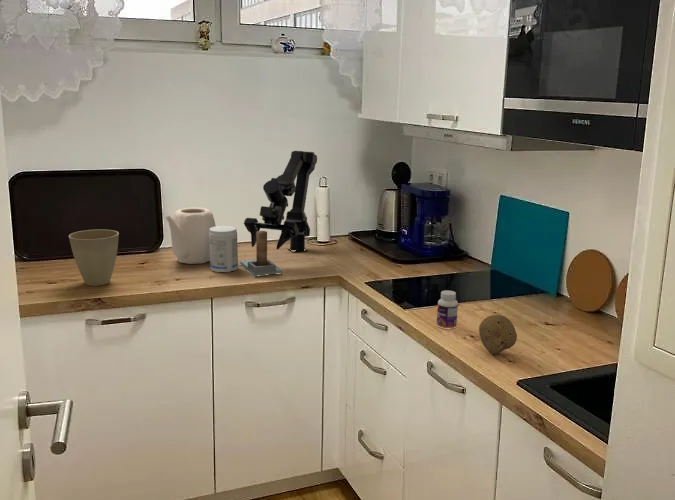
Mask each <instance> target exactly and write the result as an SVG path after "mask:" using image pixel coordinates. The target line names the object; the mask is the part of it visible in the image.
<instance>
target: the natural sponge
mask: <svg viewBox="0 0 675 500" xmlns="http://www.w3.org/2000/svg"><path fill="white" fill-rule="evenodd" d="M478 331H479V332H478V333H479V338H480V340H481V342H482V346H483V347H484V349H486V351H488V353H490V354H491V355H493V354H495V355H498V354H500V353H502V352H503V351H505V350H508V349H510V348H512V347H513V346H514V345H516V342H517V340H518V339H517V338H518V335H517V332H516V329H515V325H514V323H513V322H512V321H511V320H510V319H508V317H506V316H505V315H502V314H493V315H492V314H491V315H489V316H488V315H487V317H485V318H484V319H483V320H482V321H481V322H480V324H479V326H478Z"/></svg>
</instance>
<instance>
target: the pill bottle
mask: <svg viewBox="0 0 675 500" xmlns="http://www.w3.org/2000/svg"><path fill="white" fill-rule="evenodd" d="M458 310H459V302H458V300H457V293H456V291H453V290H442V291H441V292H440V299H439V300H438V301H437V314H436V326H437V325H438V326H440V327H443V328H454V327H456V328H457V325H458V323H457V322H458V312H459V311H458ZM438 326H437V327H438ZM454 329H455V328H454Z"/></svg>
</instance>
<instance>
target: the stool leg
mask: <svg viewBox="0 0 675 500" xmlns="http://www.w3.org/2000/svg"><path fill="white" fill-rule="evenodd" d="M255 245H256V248H255V250H256V253H255V254H256V256H255V257H256V259H255V260H257V266H266V265H267V259H268V231H266V230H259V231H257V232H256V243H255Z"/></svg>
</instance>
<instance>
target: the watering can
mask: <svg viewBox="0 0 675 500" xmlns="http://www.w3.org/2000/svg"><path fill="white" fill-rule="evenodd" d="M165 219H166V221H167V222H168V225H169V229H170V230H169V231H170V237H171V239H170V240H171V247H172V253H173V255H174V256H175V257H176V258H177V260H178V262H179V263H181V264H188V265H196V264H205V263H207V262H210V245H209V229H210V228H212V227H215V226H217V225H216V222H215V217H214V215H213V212H212V210H210V209H208V208H205V207H184V208H179V209H177V210H176V211H174V214H173V215H172V217H171V215H167V216H165Z"/></svg>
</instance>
